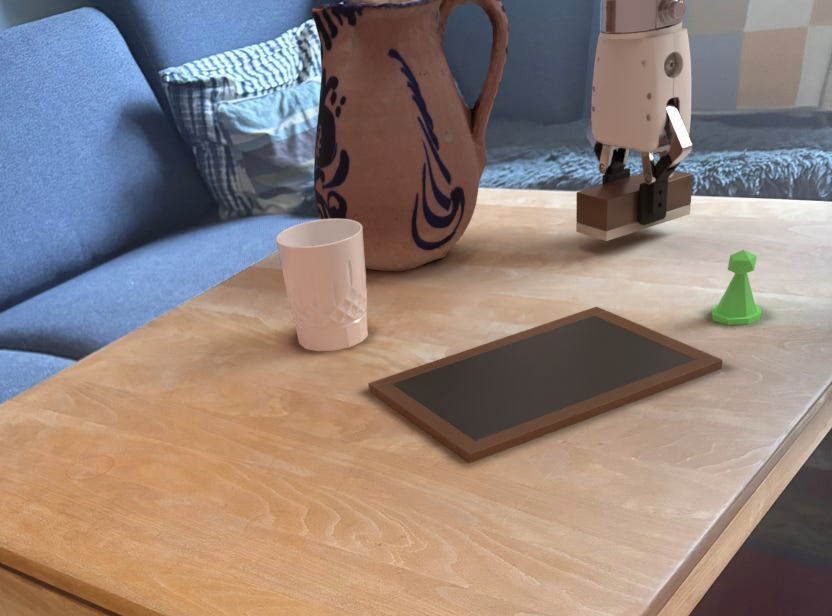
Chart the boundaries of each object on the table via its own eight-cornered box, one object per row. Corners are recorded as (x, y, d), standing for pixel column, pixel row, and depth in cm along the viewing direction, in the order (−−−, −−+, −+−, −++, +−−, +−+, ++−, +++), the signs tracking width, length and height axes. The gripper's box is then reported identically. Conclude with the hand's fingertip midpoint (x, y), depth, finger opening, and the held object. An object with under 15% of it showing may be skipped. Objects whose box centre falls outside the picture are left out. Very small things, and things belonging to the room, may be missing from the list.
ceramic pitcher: (309, 253, 115) (273, 3, 99) (477, 217, 118) (467, -31, 102) (347, 299, 101) (312, 18, 86) (535, 257, 104) (535, -21, 88)
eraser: (658, 206, 106) (660, 166, 104) (690, 214, 102) (693, 173, 100) (576, 232, 103) (576, 192, 101) (606, 241, 99) (607, 200, 97)
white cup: (327, 363, 89) (310, 252, 83) (277, 343, 94) (258, 238, 88) (391, 334, 93) (380, 226, 86) (339, 317, 98) (326, 213, 91)
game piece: (753, 330, 84) (763, 260, 80) (702, 325, 86) (710, 256, 82) (767, 312, 86) (778, 242, 82) (718, 307, 88) (726, 239, 85)
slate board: (596, 316, 90) (596, 306, 89) (721, 371, 78) (723, 359, 78) (369, 393, 83) (367, 382, 83) (470, 466, 72) (469, 454, 71)
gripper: (739, 8, 86) (719, 222, 97) (614, 5, 99) (609, 194, 110) (672, 25, 84) (660, 242, 95) (553, 19, 96) (555, 211, 108)
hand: (633, 214), depth 102 cm, fingers closed on eraser, 5 cm apart
